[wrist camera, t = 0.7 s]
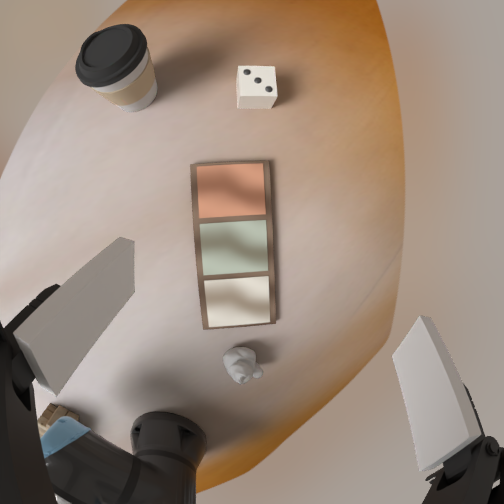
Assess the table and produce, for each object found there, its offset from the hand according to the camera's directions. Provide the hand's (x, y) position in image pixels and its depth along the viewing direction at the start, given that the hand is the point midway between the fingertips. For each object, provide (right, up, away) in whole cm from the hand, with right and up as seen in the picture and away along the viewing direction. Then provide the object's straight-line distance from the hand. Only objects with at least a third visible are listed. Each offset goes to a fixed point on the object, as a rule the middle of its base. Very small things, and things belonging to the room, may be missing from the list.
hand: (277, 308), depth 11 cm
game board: (-4, +3, +28) cm, 29 cm away
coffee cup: (-19, +27, +23) cm, 40 cm away
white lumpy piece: (-3, -15, +31) cm, 35 cm away
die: (-1, +26, +25) cm, 36 cm away
